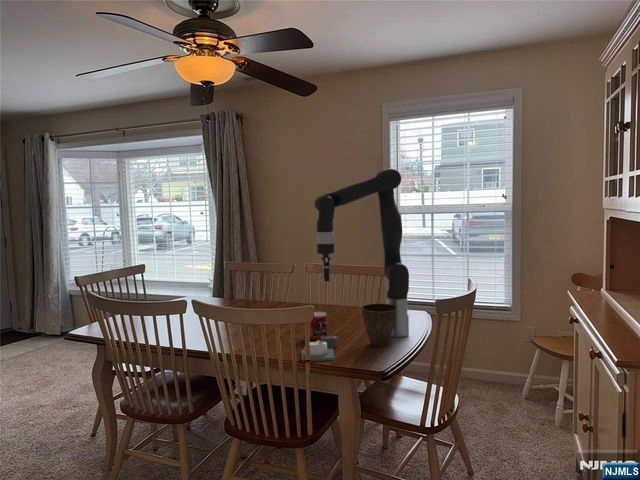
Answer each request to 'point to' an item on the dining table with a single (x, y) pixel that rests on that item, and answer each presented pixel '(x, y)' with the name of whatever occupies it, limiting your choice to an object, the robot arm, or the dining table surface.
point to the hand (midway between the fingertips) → (326, 279)
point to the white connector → (318, 348)
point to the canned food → (318, 325)
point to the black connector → (330, 341)
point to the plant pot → (379, 322)
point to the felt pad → (320, 356)
